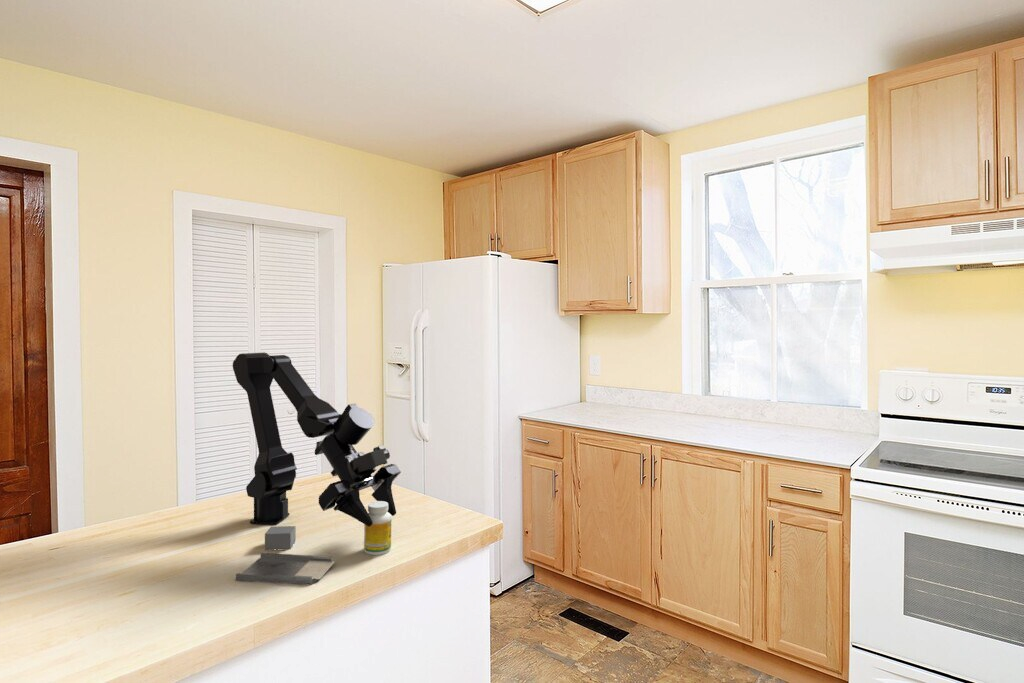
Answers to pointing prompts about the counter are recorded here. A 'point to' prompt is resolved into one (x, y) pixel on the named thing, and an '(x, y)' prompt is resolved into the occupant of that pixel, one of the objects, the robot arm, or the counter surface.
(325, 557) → the grey flat tray
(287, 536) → the block
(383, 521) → the supplement bottle
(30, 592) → the counter surface
